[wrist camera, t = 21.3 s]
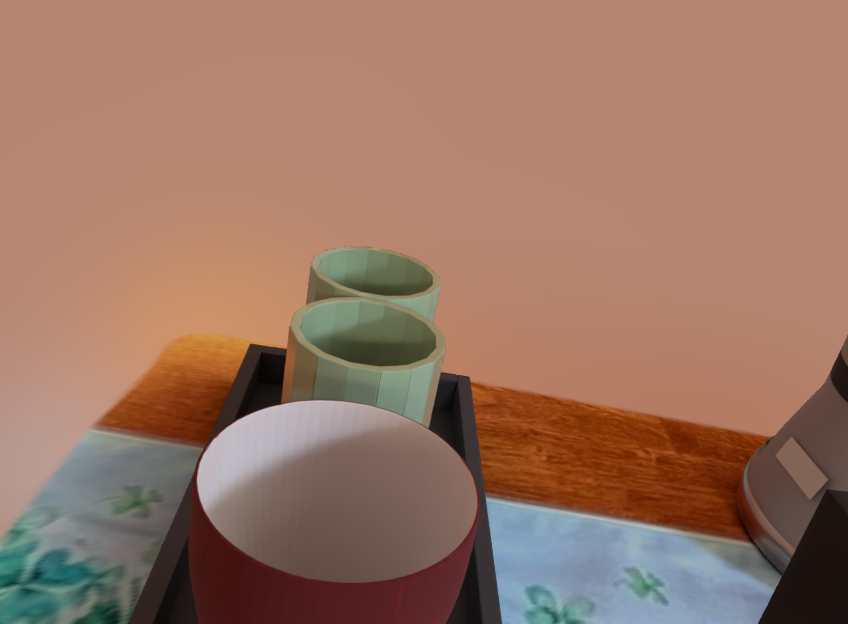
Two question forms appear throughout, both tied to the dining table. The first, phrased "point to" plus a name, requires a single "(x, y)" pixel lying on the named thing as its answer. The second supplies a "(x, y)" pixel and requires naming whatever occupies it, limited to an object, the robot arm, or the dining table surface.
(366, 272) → the cup
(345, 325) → the cup
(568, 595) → the dining table surface
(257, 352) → the tray
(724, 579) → the dining table surface
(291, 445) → the mug
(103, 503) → the dining table surface
